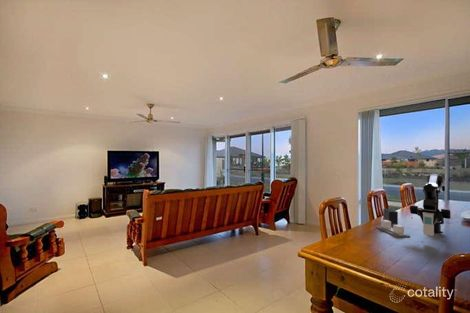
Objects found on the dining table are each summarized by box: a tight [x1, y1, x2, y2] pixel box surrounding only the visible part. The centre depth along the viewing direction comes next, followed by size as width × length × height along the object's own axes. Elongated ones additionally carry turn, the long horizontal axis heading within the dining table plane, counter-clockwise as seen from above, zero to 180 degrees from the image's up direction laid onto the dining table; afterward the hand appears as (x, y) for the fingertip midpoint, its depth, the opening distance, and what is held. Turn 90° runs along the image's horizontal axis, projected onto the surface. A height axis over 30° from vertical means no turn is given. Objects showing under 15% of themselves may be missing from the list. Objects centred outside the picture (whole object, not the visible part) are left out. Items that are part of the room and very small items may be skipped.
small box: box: [382, 208, 399, 226], centre depth 179 cm, size 11×6×10 cm, turn 168°
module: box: [422, 212, 435, 237], centre depth 137 cm, size 4×4×12 cm
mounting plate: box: [375, 219, 411, 239], centre depth 158 cm, size 9×20×6 cm, turn 2°
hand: (428, 223), depth 136 cm, fingers closed on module, 4 cm apart
